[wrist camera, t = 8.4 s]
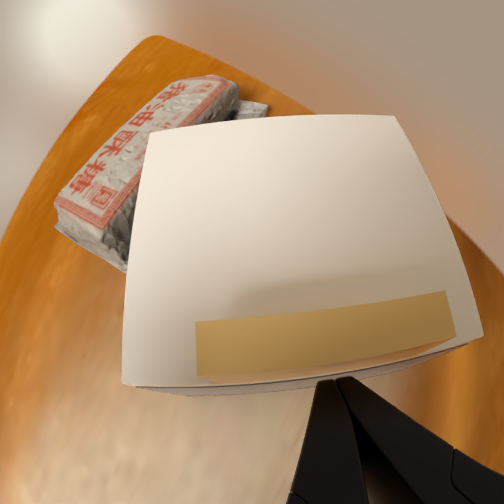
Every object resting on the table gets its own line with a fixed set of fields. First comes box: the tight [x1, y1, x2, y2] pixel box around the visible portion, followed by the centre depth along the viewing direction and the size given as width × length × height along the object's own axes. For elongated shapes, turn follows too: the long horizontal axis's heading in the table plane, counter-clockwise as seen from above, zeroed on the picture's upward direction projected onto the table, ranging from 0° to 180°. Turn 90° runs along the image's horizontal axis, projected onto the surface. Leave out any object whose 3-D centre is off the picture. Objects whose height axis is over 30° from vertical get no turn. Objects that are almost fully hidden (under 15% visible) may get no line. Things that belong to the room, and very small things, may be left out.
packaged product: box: [54, 75, 269, 274], centre depth 22 cm, size 18×5×10 cm
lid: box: [122, 115, 484, 387], centre depth 10 cm, size 11×12×3 cm
